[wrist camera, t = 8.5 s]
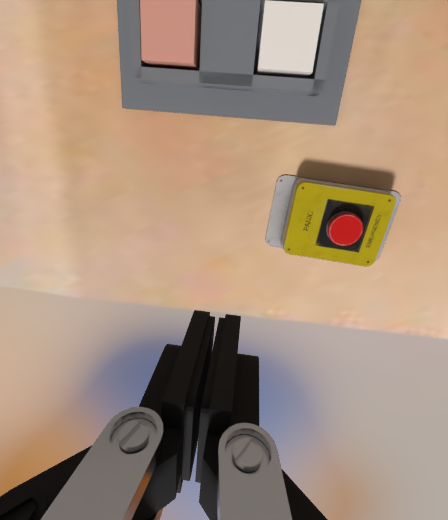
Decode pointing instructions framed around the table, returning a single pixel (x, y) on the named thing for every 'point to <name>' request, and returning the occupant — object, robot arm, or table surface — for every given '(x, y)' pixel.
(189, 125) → the table surface
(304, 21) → the cream key
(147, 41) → the terracotta key
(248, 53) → the key panel
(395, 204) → the emergency button
